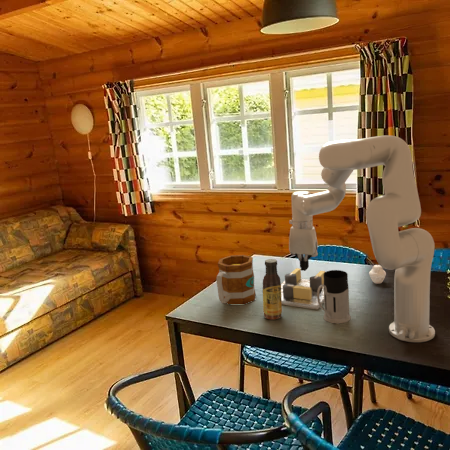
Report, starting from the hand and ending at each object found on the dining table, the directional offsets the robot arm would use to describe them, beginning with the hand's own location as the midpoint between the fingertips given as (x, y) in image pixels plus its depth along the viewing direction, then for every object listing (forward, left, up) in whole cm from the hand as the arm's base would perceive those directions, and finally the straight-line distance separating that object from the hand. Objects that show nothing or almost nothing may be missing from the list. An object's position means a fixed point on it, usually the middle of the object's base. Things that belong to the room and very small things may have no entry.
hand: (304, 269), depth 175 cm
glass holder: (-25, -19, -7) cm, 32 cm away
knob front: (-15, -3, -5) cm, 16 cm away
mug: (-22, +19, -7) cm, 30 cm away
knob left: (-2, +4, -5) cm, 7 cm away
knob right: (-2, -6, -5) cm, 8 cm away
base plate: (-8, -2, -7) cm, 11 cm away
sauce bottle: (-29, 0, -7) cm, 30 cm away
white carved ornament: (+12, -25, -7) cm, 28 cm away
